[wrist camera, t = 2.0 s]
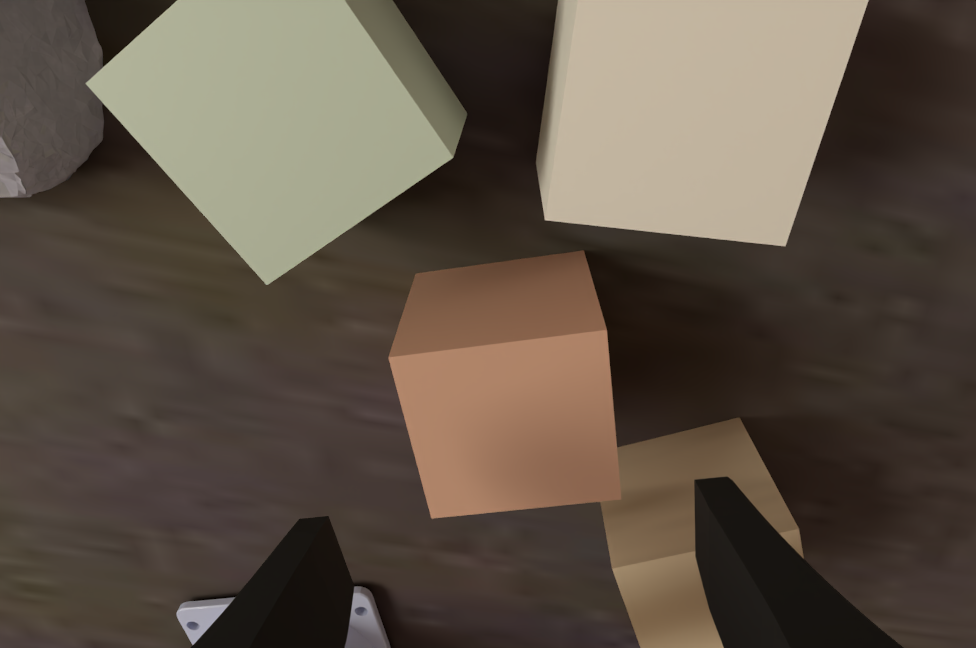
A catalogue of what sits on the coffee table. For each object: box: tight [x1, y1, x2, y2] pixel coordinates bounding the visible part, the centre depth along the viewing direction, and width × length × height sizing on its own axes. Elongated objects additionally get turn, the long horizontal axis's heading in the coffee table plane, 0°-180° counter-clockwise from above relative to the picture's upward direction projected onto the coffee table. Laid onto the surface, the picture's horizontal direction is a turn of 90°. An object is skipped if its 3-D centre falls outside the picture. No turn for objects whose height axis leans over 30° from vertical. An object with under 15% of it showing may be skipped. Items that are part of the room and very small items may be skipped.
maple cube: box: [600, 417, 804, 648], centre depth 21 cm, size 5×5×5 cm
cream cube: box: [536, 0, 869, 246], centre depth 14 cm, size 5×5×5 cm
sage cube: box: [85, 0, 467, 285], centre depth 15 cm, size 5×5×5 cm
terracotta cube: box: [388, 250, 621, 519], centre depth 18 cm, size 5×5×5 cm
